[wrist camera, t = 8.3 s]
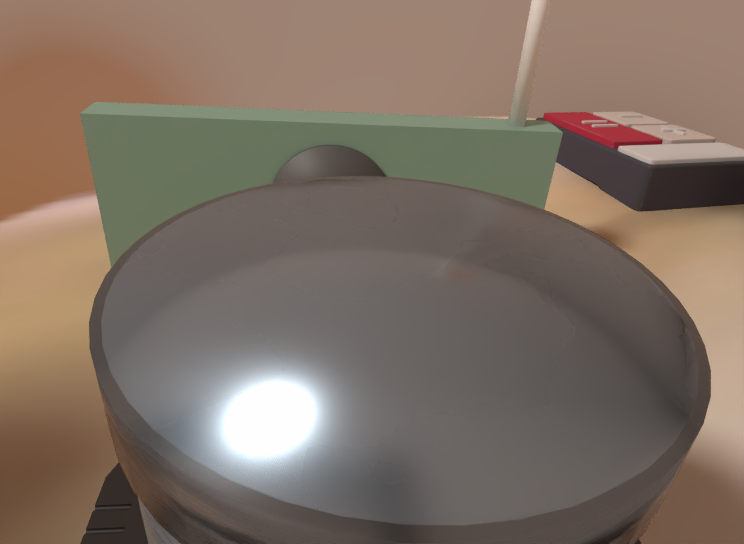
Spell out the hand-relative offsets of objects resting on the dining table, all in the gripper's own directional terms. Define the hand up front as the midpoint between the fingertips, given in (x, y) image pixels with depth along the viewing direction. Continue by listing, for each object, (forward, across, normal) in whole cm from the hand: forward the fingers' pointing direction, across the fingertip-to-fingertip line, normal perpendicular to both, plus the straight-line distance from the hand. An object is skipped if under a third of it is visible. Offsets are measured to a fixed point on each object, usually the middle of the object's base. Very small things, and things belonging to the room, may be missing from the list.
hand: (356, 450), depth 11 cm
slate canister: (-2, 0, +6) cm, 7 cm away
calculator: (+35, -26, +7) cm, 44 cm away
